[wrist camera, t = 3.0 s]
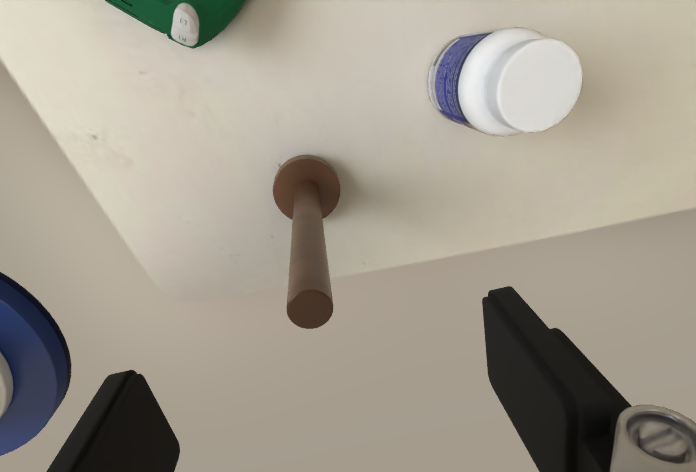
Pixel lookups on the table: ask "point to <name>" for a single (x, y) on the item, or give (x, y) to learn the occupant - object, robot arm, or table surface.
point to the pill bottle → (505, 81)
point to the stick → (307, 235)
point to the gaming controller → (183, 17)
